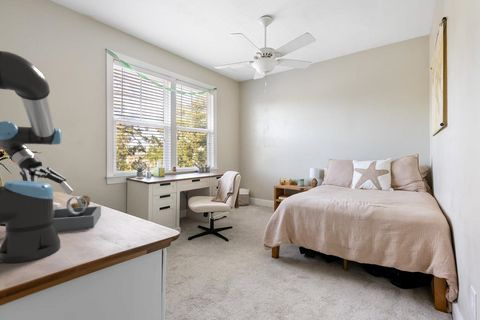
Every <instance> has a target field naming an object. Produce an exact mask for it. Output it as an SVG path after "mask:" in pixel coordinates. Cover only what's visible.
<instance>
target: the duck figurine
mask: <svg viewBox="0 0 480 320" xmlns="http://www.w3.org/2000/svg"><path fill="white" fill-rule="evenodd" d="M53 209H62V204H61V203H59V202H54V201H53Z"/></svg>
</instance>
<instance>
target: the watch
mask: <svg viewBox="0 0 480 320" xmlns="http://www.w3.org/2000/svg"><path fill="white" fill-rule="evenodd" d="M72 199H75V200H76V203H78V205H79V206H81V207H82V209H83V210H82V211H81V212H74V210H73V208H72V206H71V201H72ZM65 206H66V208H67V209H68V211H69V212H70V213H72V214H70V215H68V217H80V216H85V212H83V211H85V209H86V207H87V201H86V200H85V199H84V198H83V197H82V196H80V195H79V196H78V195H77V196H73V197H70V198H69V199H68V200H67V201H66V205H65Z"/></svg>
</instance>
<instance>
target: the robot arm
mask: <svg viewBox="0 0 480 320" xmlns="http://www.w3.org/2000/svg"><path fill="white" fill-rule="evenodd" d="M0 90H10V91H14V92H15V94H16V95H17V96H18V97H19V98H21V100H22V103H23V107H24V109H25V113H26V117H27V119H28V121H29V124H30V127H29V126H17V125H16V124H15V123H14V122H12V121H6V120H4V121H0V149H1V150H3V152H4V153H5V154H6V155H7V156H8V157H9V158H10V159H11V160H12V161H13V162H14V163H15V164H16V165H17V167H19V169H20V172H19V175H20V176H21V177H22V178H21V179H22V180H10V181H9V180H8V181H5V182H4V184H3V186H1V185H0V225H5V235H4V238H3V240H2V243H1V244H0V261H2V262H1V263H3V262H7V263H6V264H16V263H25V262H30V261H34V260H39V259H43V258H45V257H47V256H49V255H52V254H55V253H57V252H58V251H59V250H60V249H61V239H60V237H59V234H58V231H56V230H55V228H54V216H53V202H54V198H55V195H54V189H53V186H52V185H51V184H50V183H47V182H44V181H43V182H42V181H38V179H40V178H41V179H43V178H44V179H48V180H51V181H52V182H54V183H56V184H57V183H58V185H59V186H60V188H62V189H63V190H64V192H65V193H66V194H67V195H71V194H72V193H73V192H74V189H73V188H72V187H71V186H70V185H69V184H68V183H67V182H66V181H68V178H67V177H65V176H63V175H62V174H60V173H59V172H57V171H55V170H54V169H53V168H51V167H50V166H47V167H46V168H45V167H44V166H43V162H42V161H41V160H40V159H39V157H37V156H36V155H35V154H34V152H32V150H30V149H29V147H27V145H50V146H52V145H61V143H62V131H61V129H60V128H57V127H55V125H54V121H53V116H52V111H51V106H50V103H49V95H50V93H51V91H50V86H49V83H48V80H47V79H46V77H45V75H44V74H43V73H42V72H41V71H40V70H39V69H38V68H37V67H36V66H35V65H34V64H33V63H31V62H30V61H29V60H27V59H26V58H24V57H23V56H21V55H18V54H15V53H14V52H9V51H4V50H0Z"/></svg>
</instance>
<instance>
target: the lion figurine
mask: <svg viewBox="0 0 480 320" xmlns="http://www.w3.org/2000/svg"><path fill="white" fill-rule="evenodd" d="M81 197H83V198H84V199H85V200H86V201H87V207H90V206H89V205H90V202H91V200H90V198H91V197H90V196H89V195H87V194H86V195H82V196H81ZM70 205H71V206H72V208H79V207H81V206H79V205H78V203H77V202H73V203H70Z"/></svg>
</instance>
